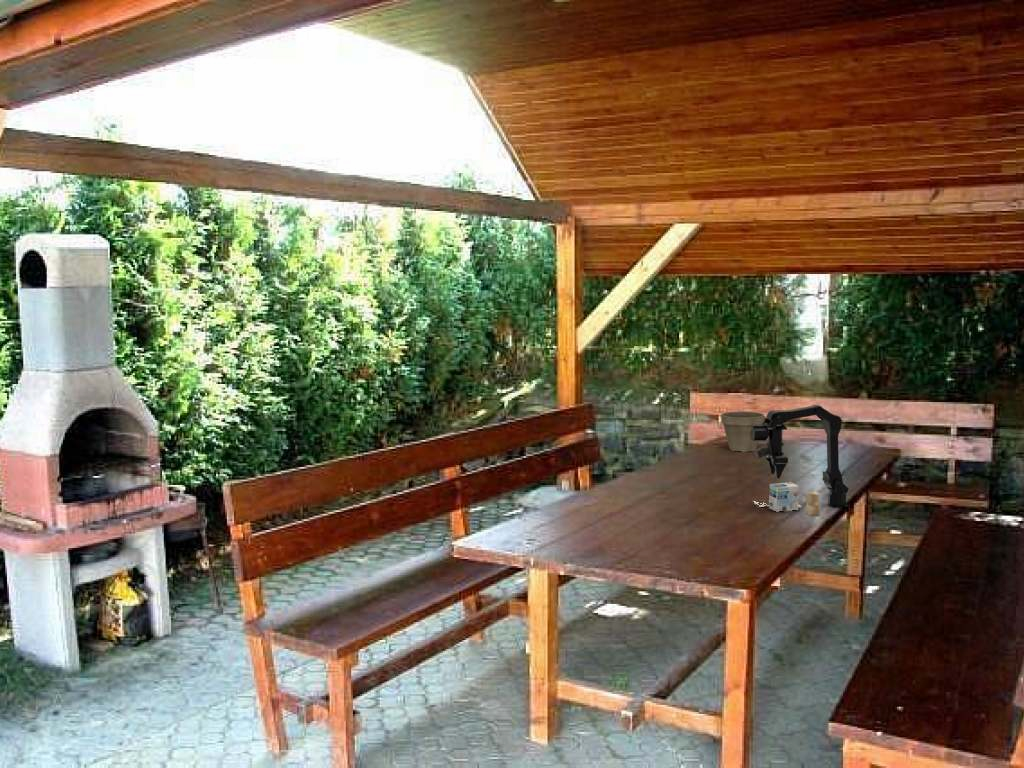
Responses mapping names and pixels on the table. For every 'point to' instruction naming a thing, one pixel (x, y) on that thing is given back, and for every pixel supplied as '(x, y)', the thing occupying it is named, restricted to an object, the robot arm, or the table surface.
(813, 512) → the oak block
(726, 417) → the plant pot
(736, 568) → the table surface
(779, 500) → the light bulb box
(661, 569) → the table surface
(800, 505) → the white flat board
